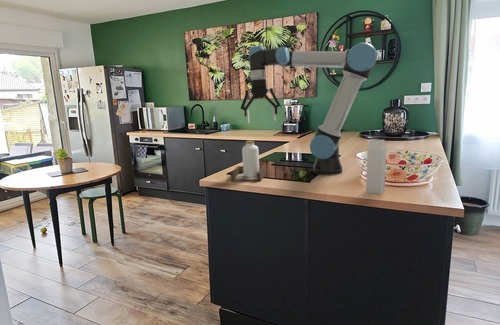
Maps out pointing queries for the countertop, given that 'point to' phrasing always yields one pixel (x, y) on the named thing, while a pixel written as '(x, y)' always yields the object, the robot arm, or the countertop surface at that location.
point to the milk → (376, 166)
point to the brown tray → (239, 176)
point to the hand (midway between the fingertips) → (261, 122)
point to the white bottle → (250, 159)
